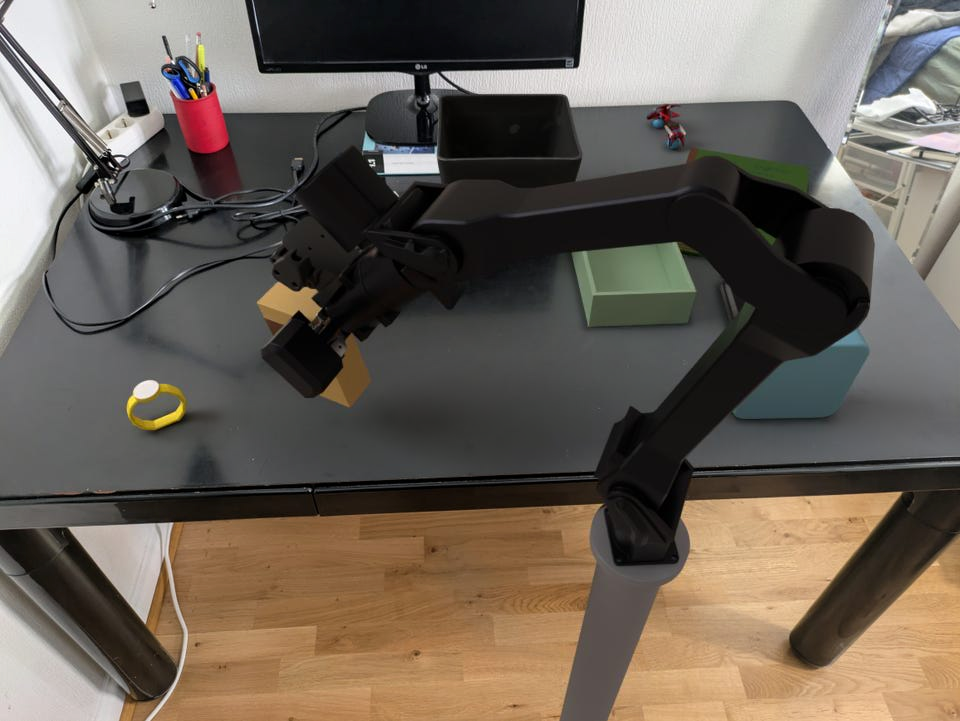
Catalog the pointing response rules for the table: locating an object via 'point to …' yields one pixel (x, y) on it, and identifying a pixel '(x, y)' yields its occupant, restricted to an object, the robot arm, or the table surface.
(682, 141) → the hoverbike
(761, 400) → the blue rounded flat block
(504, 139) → the flower pot
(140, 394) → the watch
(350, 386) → the chocolate carton
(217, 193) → the table surface
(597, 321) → the green open tray
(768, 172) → the hardcover book
